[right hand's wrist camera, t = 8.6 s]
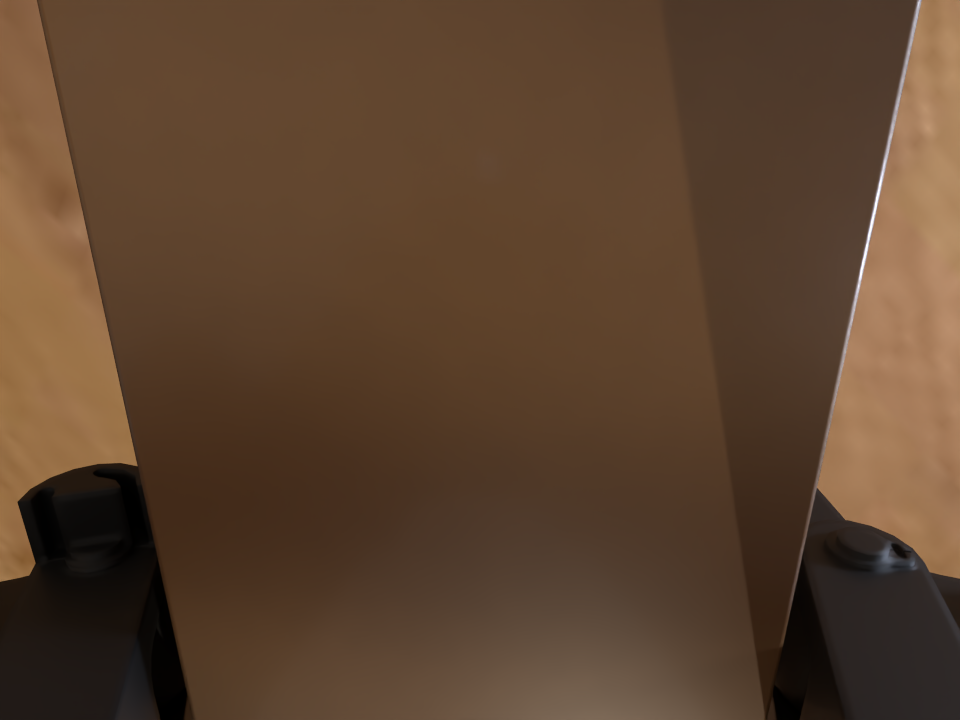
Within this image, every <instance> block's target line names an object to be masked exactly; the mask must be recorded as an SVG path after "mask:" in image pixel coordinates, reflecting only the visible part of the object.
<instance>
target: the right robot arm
mask: <svg viewBox="0 0 960 720" xmlns="http://www.w3.org/2000/svg"><path fill="white" fill-rule="evenodd" d="M18 505H19V509H20V512H21V515H22V519H23V522H24V525H25V529H26V532H27V535H28V539H29V542H30V545H31V549H32V552H33V556H34V559H35V562H36V564H35V566H34V568H33V570H32V572H31V574H30V575H29V576H26V577H22V578H17V579H12V580H7V581H2V582H0V720H193V719H192V714H191V710H190V705H189V700H188V696H187V691H186V687H185V682H184V677H183V673H182V668H181V664H180V659H179V654H178V650H177V645H176V640H175V636H174V631H173V627H172V622H171V617H170V613H169V608H168V603H167V599H166V594H165V590H164V585H163V580H162V576H161V571H160V566H159V562H158V557H157V553H156V548H155V543H154V539H153V534H152V530H151V525H150V520H149V516H148V511H147V506H146V502H145V497H144V493H143V488H142V483H141V479H140V474H139V469H138V466H133V465H127V464H122V463H113V464H97V465H92V466H87V467H82V468H77V469H73V470H70V471H68V472H65V473H62V474H59V475H57V476H54V477H51V478H49V479H47V480H46V481H44V482H42V483H40V484H39V485H37V486H35V487H33V488H32V489H30V490H29V491H28V492H27V493H26V494H25V495H24V496H23V497H22V498H21V499H20V500H19V501H18ZM767 720H960V579H958V578H953V577H948V576H943V575H938V574H934V573H930V572H929V570H928V569H927V567H926V565H925V563H924V562H923V560H922V559H921V558H920V557H919V556H918V554H917V553H916V552H915V551H914V550H913V548H911V547H910V546H908V545H907V544H905V543H904V542H902V541H901V540H899V539H898V538H896V537H895V536H893V535H891V534H888V533H886V532H884V531H881V530H879V529H877V528H874V527H872V526H869V525H865V524H860V523H856V522H852V521H848V520H845V519H844V518H843V517H842V516H841V515H840V513H839V512H838V511H837V510H836V509H835V508H834V507H833V505H832V504H831V503H830V502H829V501H828V500H827V499H826V498H825V496H824V495H823V494H822V493H821V492H820V491H819V490H818V488H817V489H816V494H815V499H814V503H813V508H812V513H811V517H810V522H809V527H808V531H807V536H806V541H805V545H804V550H803V555H802V559H801V564H800V569H799V573H798V578H797V582H796V587H795V592H794V596H793V601H792V606H791V610H790V615H789V620H788V624H787V629H786V634H785V638H784V643H783V648H782V652H781V657H780V662H779V666H778V671H777V676H776V680H775V685H774V690H773V694H772V699H771V703H770V708H769V713H768V717H767Z"/></svg>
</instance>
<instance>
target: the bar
mask: <svg viewBox="0 0 960 720" xmlns="http://www.w3.org/2000/svg"><path fill="white" fill-rule="evenodd" d="M921 1H922V0H37V3H38V7H39V12H40V17H41V21H42V26H43V30H44V35H45V40H46V44H47V49H48V54H49V58H50V63H51V67H52V72H53V77H54V81H55V86H56V91H57V95H58V100H59V104H60V109H61V114H62V118H63V123H64V128H65V132H66V137H67V141H68V146H69V151H70V155H71V160H72V164H73V169H74V174H75V178H76V183H77V188H78V192H79V197H80V201H81V206H82V211H83V215H84V220H85V225H86V229H87V234H88V238H89V243H90V248H91V252H92V257H93V262H94V266H95V271H96V275H97V280H98V285H99V289H100V294H101V298H102V303H103V308H104V312H105V317H106V322H107V326H108V331H109V335H110V340H111V345H112V349H113V354H114V359H115V363H116V368H117V372H118V377H119V382H120V386H121V391H122V396H123V400H124V405H125V409H126V414H127V419H128V423H129V428H130V432H131V437H132V442H133V446H134V451H135V456H136V460H137V465H138V469H139V474H140V479H141V483H142V488H143V493H144V497H145V502H146V506H147V511H148V516H149V520H150V525H151V530H152V534H153V539H154V543H155V548H156V553H157V557H158V562H159V566H160V571H161V576H162V580H163V585H164V590H165V594H166V599H167V603H168V608H169V613H170V617H171V622H172V627H173V631H174V636H175V640H176V645H177V650H178V654H179V659H180V664H181V668H182V673H183V677H184V682H185V687H186V691H187V696H188V700H189V705H190V710H191V714H192V719H193V720H767V717H768V713H769V708H770V703H771V699H772V694H773V690H774V685H775V680H776V676H777V671H778V666H779V662H780V657H781V652H782V648H783V643H784V638H785V634H786V629H787V624H788V620H789V615H790V610H791V606H792V601H793V596H794V592H795V587H796V582H797V578H798V573H799V569H800V564H801V559H802V555H803V550H804V545H805V541H806V536H807V531H808V527H809V522H810V517H811V513H812V508H813V503H814V499H815V494H816V489H817V485H818V480H819V475H820V471H821V466H822V462H823V457H824V452H825V448H826V443H827V438H828V434H829V429H830V424H831V420H832V415H833V410H834V406H835V401H836V396H837V392H838V387H839V382H840V378H841V373H842V368H843V364H844V359H845V355H846V350H847V345H848V341H849V336H850V331H851V327H852V322H853V317H854V313H855V308H856V303H857V299H858V294H859V289H860V285H861V280H862V275H863V271H864V266H865V261H866V257H867V252H868V247H869V243H870V238H871V234H872V229H873V224H874V220H875V215H876V210H877V206H878V201H879V196H880V192H881V187H882V182H883V178H884V173H885V168H886V164H887V159H888V154H889V150H890V145H891V140H892V136H893V131H894V127H895V122H896V117H897V113H898V108H899V103H900V99H901V94H902V89H903V85H904V80H905V75H906V71H907V66H908V61H909V57H910V52H911V47H912V43H913V38H914V33H915V29H916V24H917V20H918V15H919V10H920V6H921Z"/></svg>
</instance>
